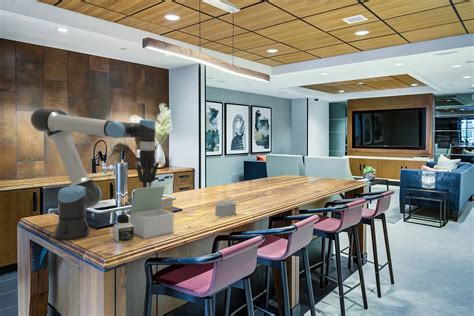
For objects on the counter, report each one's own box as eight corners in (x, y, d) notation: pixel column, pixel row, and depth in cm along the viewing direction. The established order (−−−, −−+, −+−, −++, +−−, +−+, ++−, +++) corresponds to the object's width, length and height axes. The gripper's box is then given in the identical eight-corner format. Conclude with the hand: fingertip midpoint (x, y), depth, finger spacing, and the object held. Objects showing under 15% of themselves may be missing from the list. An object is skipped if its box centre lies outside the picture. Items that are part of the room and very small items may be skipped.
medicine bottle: (118, 243, 155) (118, 217, 154) (113, 239, 161) (113, 214, 160) (133, 240, 159) (133, 215, 158) (128, 236, 165) (128, 212, 164)
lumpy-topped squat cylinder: (237, 214, 214) (238, 201, 214) (222, 218, 205) (222, 203, 205) (226, 211, 222) (226, 198, 221) (211, 214, 213) (211, 201, 212)
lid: (136, 189, 166) (135, 188, 167) (131, 212, 171) (130, 211, 172) (165, 186, 177) (164, 185, 178) (159, 208, 182) (158, 207, 183)
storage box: (144, 239, 162) (144, 218, 161) (131, 232, 172) (131, 212, 171) (173, 232, 173) (173, 213, 172) (159, 226, 183) (159, 208, 182)
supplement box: (167, 217, 202) (167, 196, 201) (172, 219, 199) (173, 197, 198) (156, 220, 196) (156, 198, 195) (161, 221, 193) (161, 199, 192)
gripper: (139, 150, 166) (138, 198, 168) (162, 150, 175) (161, 195, 177) (131, 149, 171) (131, 195, 173) (154, 149, 180) (154, 192, 182)
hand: (146, 195), depth 175 cm, fingers closed
